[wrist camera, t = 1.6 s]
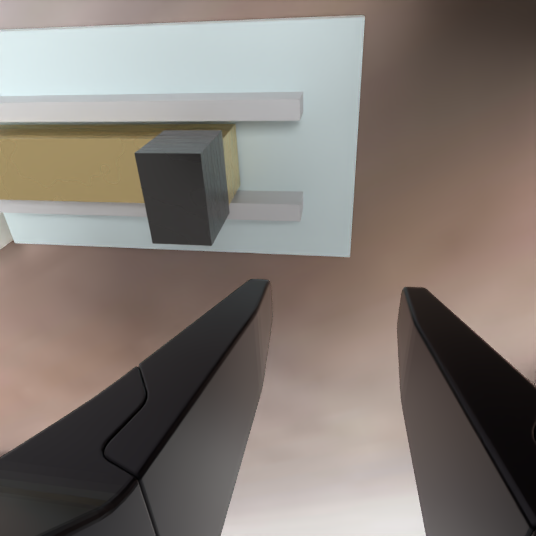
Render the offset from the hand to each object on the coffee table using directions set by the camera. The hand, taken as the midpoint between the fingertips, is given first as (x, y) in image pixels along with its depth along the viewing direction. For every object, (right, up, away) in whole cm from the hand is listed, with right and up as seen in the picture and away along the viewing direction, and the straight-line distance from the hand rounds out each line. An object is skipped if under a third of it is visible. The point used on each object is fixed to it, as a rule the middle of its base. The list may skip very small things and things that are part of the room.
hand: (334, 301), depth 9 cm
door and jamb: (-9, +6, +11) cm, 15 cm away
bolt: (-7, +5, +9) cm, 13 cm away
